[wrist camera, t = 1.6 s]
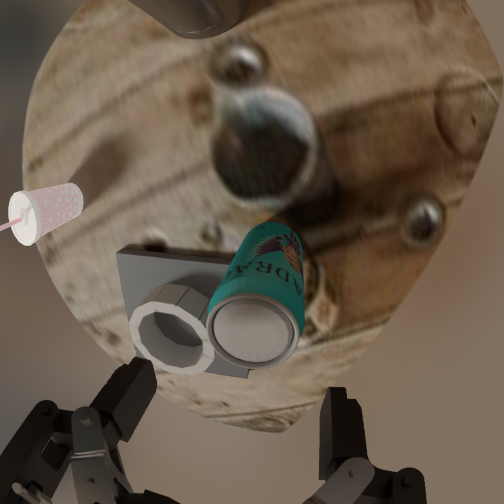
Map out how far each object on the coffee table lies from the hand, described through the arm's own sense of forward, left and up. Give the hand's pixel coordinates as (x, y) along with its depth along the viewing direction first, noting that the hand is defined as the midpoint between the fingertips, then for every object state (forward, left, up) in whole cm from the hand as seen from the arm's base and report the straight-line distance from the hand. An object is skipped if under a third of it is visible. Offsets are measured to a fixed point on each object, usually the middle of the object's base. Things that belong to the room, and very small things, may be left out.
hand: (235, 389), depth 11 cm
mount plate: (+10, -10, -19) cm, 24 cm away
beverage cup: (-4, -26, -19) cm, 32 cm away
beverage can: (0, 0, -19) cm, 19 cm away
